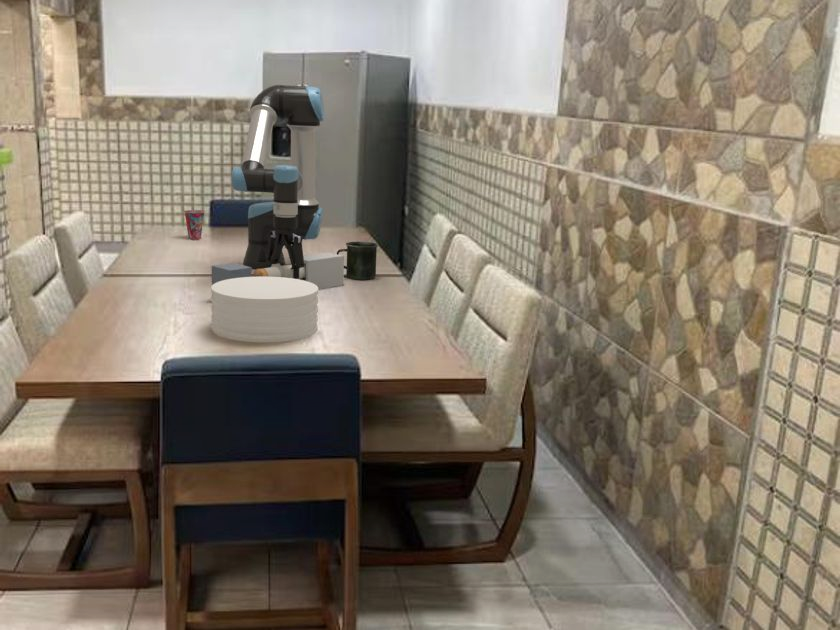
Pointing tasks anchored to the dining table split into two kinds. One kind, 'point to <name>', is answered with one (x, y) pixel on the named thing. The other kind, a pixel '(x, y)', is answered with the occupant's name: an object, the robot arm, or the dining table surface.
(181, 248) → the dining table surface
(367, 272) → the mug
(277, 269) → the tube
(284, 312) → the plate stack
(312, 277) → the sleeve
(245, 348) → the dining table surface
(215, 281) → the socket
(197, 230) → the cup
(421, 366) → the dining table surface
